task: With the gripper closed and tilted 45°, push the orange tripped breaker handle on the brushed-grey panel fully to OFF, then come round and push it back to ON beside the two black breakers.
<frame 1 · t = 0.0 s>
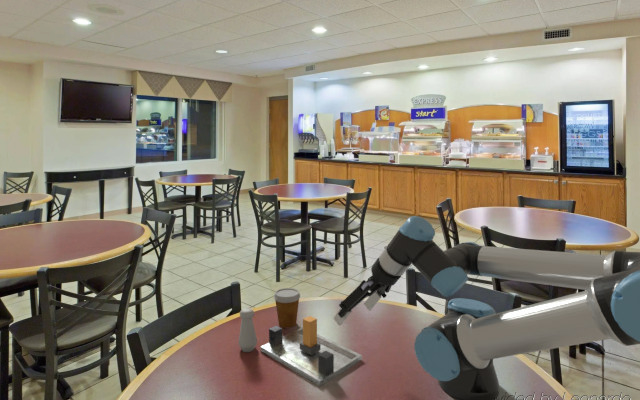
hand: (352, 314, 111), 15 cm above the table, tool tilted 35°, fingers open, 13 cm apart
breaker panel: (310, 355, 117), on the table
salt shaker: (248, 349, 121), on the table
disposable coffee cup: (287, 324, 138), on the table
tripped breaker: (309, 334, 116), point 7 cm above the table, slide at 0.0 cm
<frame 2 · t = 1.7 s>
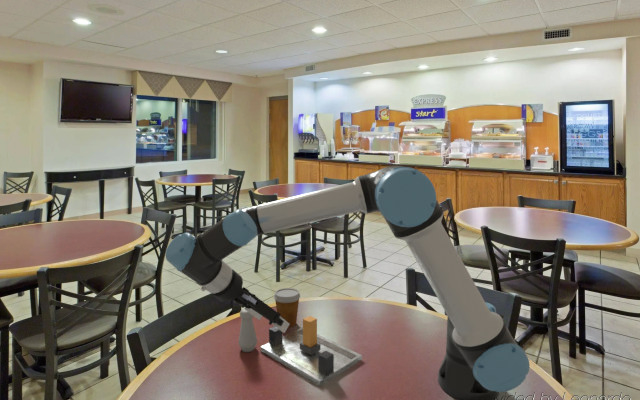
hand: (273, 321, 105), 16 cm above the table, tool tilted 45°, fingers open, 10 cm apart
nothing on the table moved.
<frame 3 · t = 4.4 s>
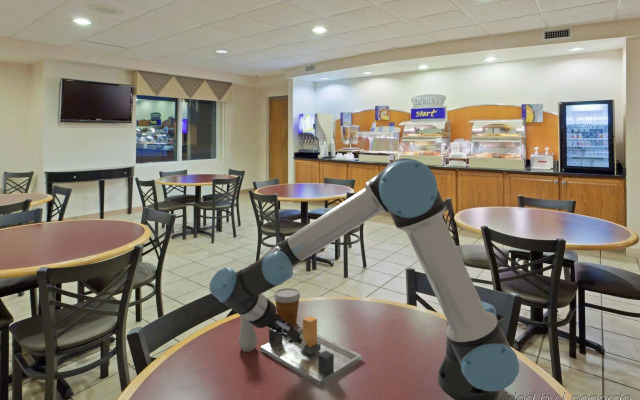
hand: (303, 344, 115), 4 cm above the table, tool tilted 45°, fingers closed
tripped breaker: (310, 334, 116), point 7 cm above the table, slide at 0.0 cm, touching gripper
everything else where it was.
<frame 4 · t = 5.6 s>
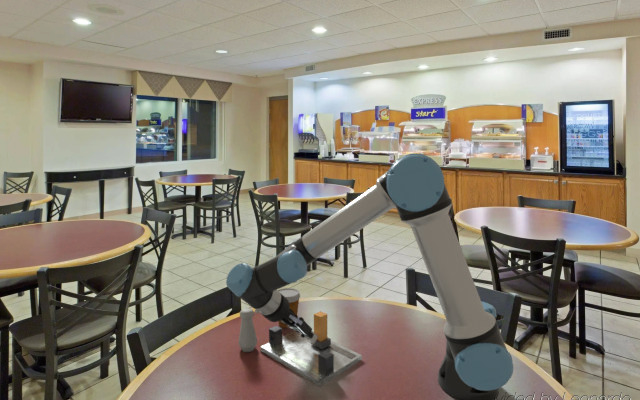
hand: (314, 339, 118), 5 cm above the table, tool tilted 45°, fingers closed
tripped breaker: (320, 329, 119), point 7 cm above the table, slide at -4.7 cm, touching gripper
everything else where it was.
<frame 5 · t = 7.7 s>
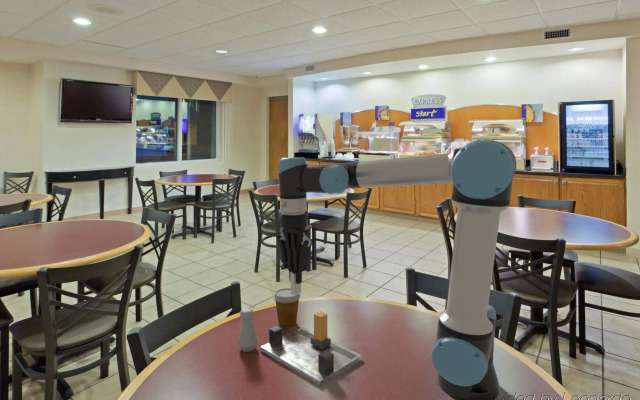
hand: (296, 293, 110), 22 cm above the table, tool pointing down, fingers closed
tripped breaker: (320, 329, 119), point 7 cm above the table, slide at -4.7 cm
everything else where it was.
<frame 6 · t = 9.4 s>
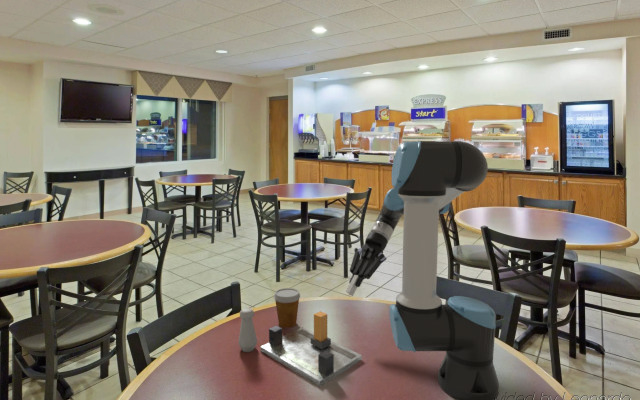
hand: (349, 293, 128), 15 cm above the table, tool tilted 45°, fingers closed
nothing on the table moved.
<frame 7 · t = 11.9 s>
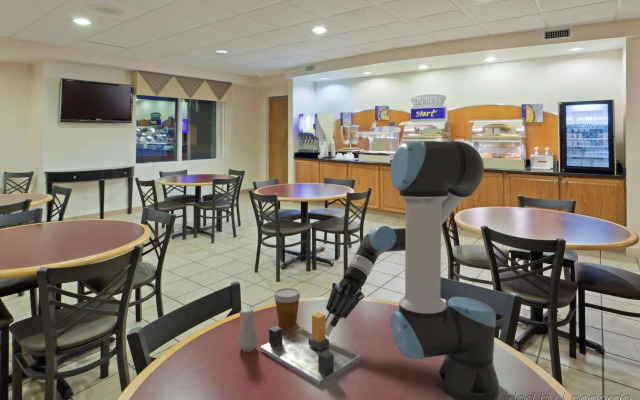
hand: (324, 333, 121), 5 cm above the table, tool tilted 45°, fingers closed
tripped breaker: (318, 330, 119), point 7 cm above the table, slide at -3.8 cm, touching gripper
everything else where it was.
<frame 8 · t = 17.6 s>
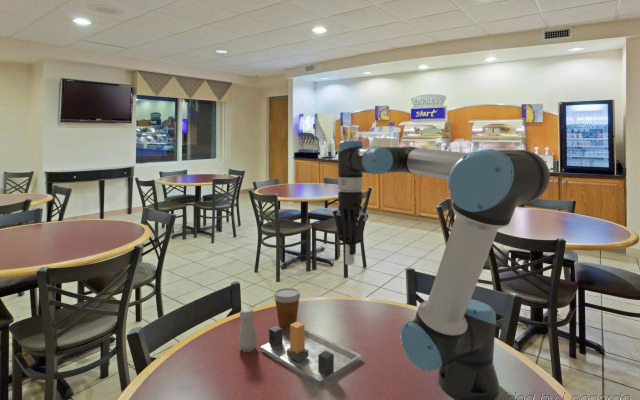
hand: (349, 263, 122), 26 cm above the table, tool pointing down, fingers closed
tripped breaker: (297, 340, 113), point 7 cm above the table, slide at 5.2 cm
everything else where it was.
at the end: tripped breaker slide at 5.2 cm; the gripper is holding nothing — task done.
